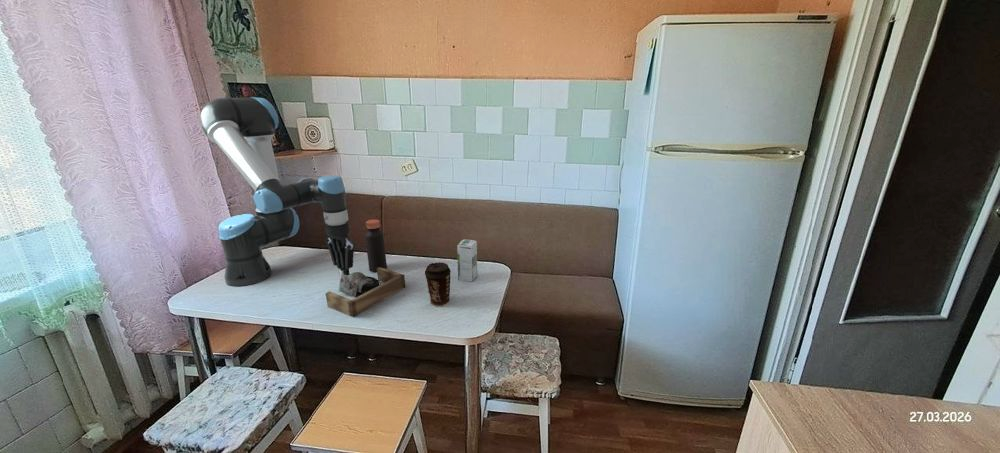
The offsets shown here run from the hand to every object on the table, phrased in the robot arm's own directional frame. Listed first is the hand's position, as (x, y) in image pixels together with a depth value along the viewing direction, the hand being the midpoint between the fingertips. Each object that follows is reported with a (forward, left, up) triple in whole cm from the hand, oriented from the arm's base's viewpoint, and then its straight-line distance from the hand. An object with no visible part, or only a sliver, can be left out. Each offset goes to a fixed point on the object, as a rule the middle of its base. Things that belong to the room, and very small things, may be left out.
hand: (346, 284), depth 141 cm
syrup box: (+33, +29, -2) cm, 44 cm away
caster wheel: (+6, +2, -2) cm, 7 cm away
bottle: (-2, +17, -2) cm, 17 cm away
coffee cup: (+35, +10, -2) cm, 36 cm away
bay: (+11, 0, -2) cm, 11 cm away
